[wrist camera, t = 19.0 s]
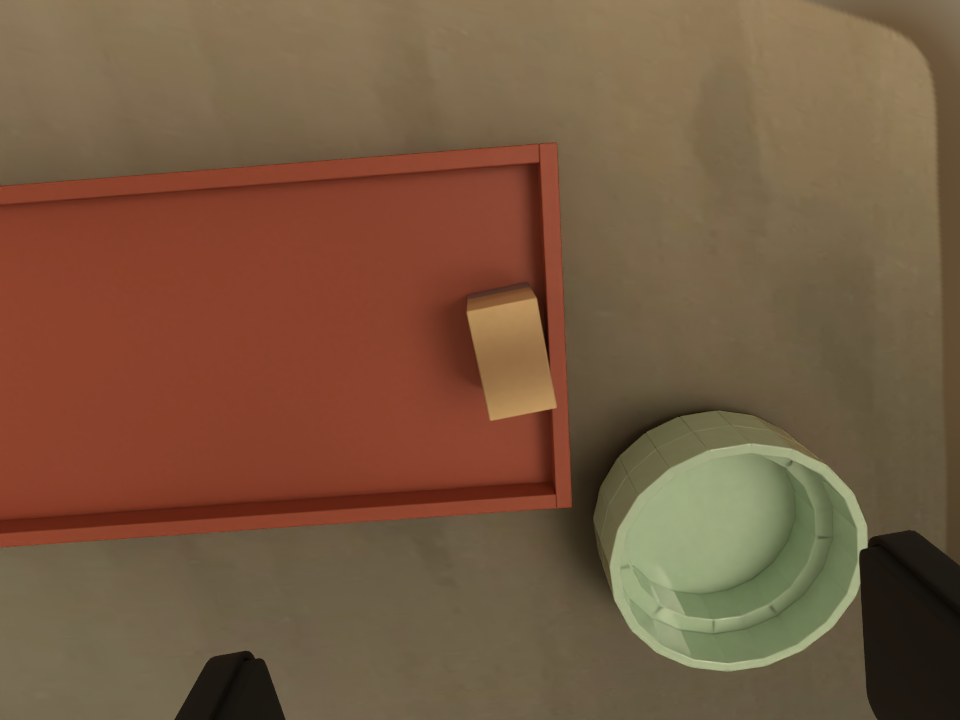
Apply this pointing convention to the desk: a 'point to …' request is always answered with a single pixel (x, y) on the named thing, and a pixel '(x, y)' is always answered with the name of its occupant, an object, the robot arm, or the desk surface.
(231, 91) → the desk surface
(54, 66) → the desk surface
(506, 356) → the eraser
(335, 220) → the tray
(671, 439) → the bowl
